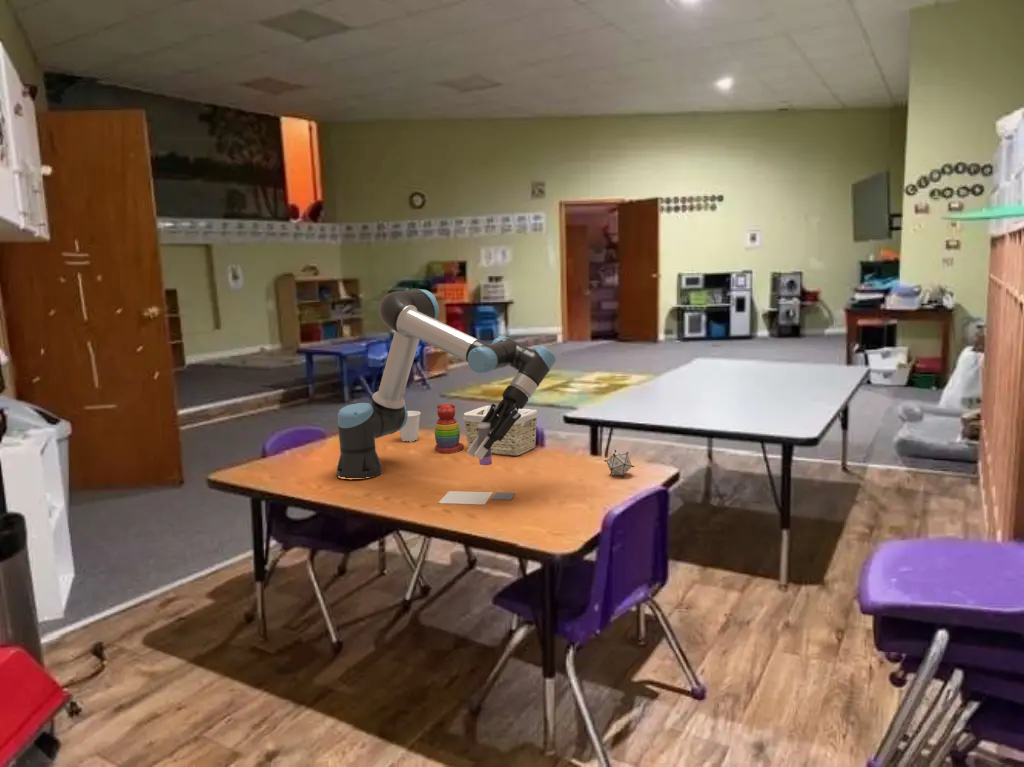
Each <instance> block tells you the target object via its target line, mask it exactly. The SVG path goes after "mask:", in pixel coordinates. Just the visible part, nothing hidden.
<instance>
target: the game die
mask: <svg viewBox="0 0 1024 767" xmlns="http://www.w3.org/2000/svg"><path fill="white" fill-rule="evenodd" d="M603 461H604V462H606V463H607V464H606V465H607V466H608V468H609V471H610V474H609V476H612V475H618V476H621V477H622V478H623V477H625V476H624V475H625V474H626V473H627V472H628V471H629V470H630V469H631V468H635V465H632V462H631V460H630V458H629V451H627V452H626V453H624V452H620V451H617V450H616V449H614V452H613V453H612V455H611V456H610V457H609V458H607V459H604V460H603ZM611 474H612V475H611Z"/></svg>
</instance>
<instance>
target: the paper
mask: <svg viewBox="0 0 1024 767" xmlns="http://www.w3.org/2000/svg"><path fill="white" fill-rule="evenodd" d="M493 493H494V492H493V491H457V490H454V491H453V490H451V491H450V490H449V491H448V490H447V492H446V494H445V495H444V496H443V497H442V498H441V499H440V500H439V501H438V504H443V505H473V506H474V505H475V506H476V505H477V506H486V504H487V502H488V501H489V499H490V498H492V496H493V495H494V494H493Z"/></svg>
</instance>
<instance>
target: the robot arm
mask: <svg viewBox="0 0 1024 767" xmlns="http://www.w3.org/2000/svg"><path fill="white" fill-rule="evenodd" d="M378 311H379V312H378V314H379V317H380V319H381V321H382V323H383V324H384V325H385V326H386V327H388V329H391V330H393V331H394V334H393V337H392V341H391V344H390V347H389V352H388V354H387V358H386V363H385V367H384V369H383V373H382V376H381V379H380V380H381V381H380V385H379V387H378V391H376V392H374V393H373V394H372V396H371V400H370V403H369V402H368V403H367V402H357V403H353V404H348V405H344V407H342V408H341V409H339V410H338V413H337V422H336V423H337V427H338V428H337V430H338V438H339V451H340V452H339V454H340V455H339V459H338V463H337V466H336V476H337V475H338V476H340V477H345V478H366V477H372V476H376V475H378V474H380V473H381V472H382V473H383V465H382V462H381V460H380V457H379V456H378V453H377V451H376V439H378V438H382V437H384V436H388V435H392V434H395V433H396V432H398V431H399V432H400V429H402V428H403V427H404V425H405V424H406V421H407V417H408V412H407V411H408V410H407V406H406V401H405V399H404V394H405V391H406V387H407V383H408V380H409V378H410V373H411V369H412V366H413V363H414V360H415V356H416V352H417V350H418V345H419V343H420V341H423V342H425V343H426V344H429V345H431V346H433V347H435V348H437V349H439V350H441V351H444V353H445V352H446V353H448V354H449V355H452V356H453V357H455V358H457V359H459V360H462V361H464V362H466V363H467V364H468V367H469V368H470V369H471V370H472V371H473V372H475V373H478V374H482V373H483V374H484V373H490V372H493V371H494V370H499V369H502V368H505V367H506V368H507V367H511V368H513V369H514V370H516V371H518V372H516V374H515V376H514V377H513V378H512V379H511V381H510V382H509V385H507V387H506V388H505V389H504V390H503V392H502V400H501V401H500V402H498V404H495V403H492V404H491V405H490V406H491V407H490V410H489V411H488V413H487V414H486V416H485V417H484V419H483V420H482V422H488V423H490V432H491V431H492V432H491V434H488V436H489V437H490V438H489V437H488V436H487V437H486V438H485V439H484V441H483V442H482V444H481V445H480V446H479V441H478V436H477V437H476V439H475V440H474V442H473V443H472V444H471V446H470V447H469V449H467V450H466V453H468V454H469V455H470V456H472V457H475V456H476V458H478V459H480V460H482V458H483V457H484V455H485V454H486V453H487V451H488V450H489V449H490V447H491V446H492V445H493V443H494V442H496V441H497V440H499V441H501V440H502V439H503V438H504V436H505V435H506V434H507V432H508V431H509V430H510V428H511V427H512V426H513V424H514V423H515V422H516V421H517V420H518V419H519V418H520V417H521V414H520V413H519V412H518V410H519V409H525V408H524V407H525V406H526V405H527V404H528V402H529V398H531V397H532V396H533V394H534V393H535V392H536V390H537V388H539V386H540V384H541V383H542V381H543V380H544V379H545V378H546V376H547V375H548V374H549V373H550V372H551V369H552V368H553V366H554V364H555V363H556V360H557V359H556V356H555V354H554V353H553V351H551V350H550V349H549V348H548V347H546V346H544V345H540V344H538V345H536V346H535V347H534V348H533V349H532V348H530V347H527V346H525V345H523V344H522V343H520V342H518V341H516V340H514V339H513V338H511V337H507V336H506V335H503V334H501V335H498V336H497V337H496V338H495V339H493V341H491V342H492V343H490V344H489V343H486V342H485V341H482V340H480V339H478V338H476V337H474V336H472V335H470V334H467V333H465V332H463V331H461V330H459V329H457V328H454V327H452V326H450V325H448V324H446V323H443V322H441V321H440V320H438V319H437V318H438V316H439V314H440V306H439V302H438V301H437V298H436V297H435V295H434V294H433V293H432V292H430V291H429V290H427V289H421V288H420V289H419V288H415V289H410V290H397V291H392V292H390V293H388V294H386V295H385V296H384V297H383V298H382V300H381V301H380V303H379V309H378ZM482 422H481V423H482ZM492 429H493V430H492ZM477 431H478V428H477ZM500 435H501V436H500ZM382 473H381V474H382ZM381 474H380V475H381ZM378 476H379V475H378ZM376 477H377V476H376Z"/></svg>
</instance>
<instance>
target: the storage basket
mask: <svg viewBox="0 0 1024 767" xmlns="http://www.w3.org/2000/svg"><path fill="white" fill-rule="evenodd" d="M490 407H491V405H484V406H482V407H481V406H480V407H478V408H474V409H473V410H469V411H466V412H464V413H463V418H462V419H463V421H464V424H465V435H466V441H467V448H468V449H469V447H470V446H471V444H472V443H473V442H474V440H475V439H476V437H477V436H478V431H477V428H478V425H477V424H478V423H481V422H482V420H483V419H484V417H485V416H486V414H487V413H488V411H489V410H490ZM518 412H519V413H520V414H521V417H520V418H519V419H518V420H517V421H516V422H515V423H514V424H513V426H512V427H511V428H510V430H509V431H508V432H507V434H506V435H505V436H504V438H503V439H502V440H501V441H499V440H497V441H496V442H494V443H493V445H492V446H491V454H494V455H495V454H496V455H502V456H504V455H505V456H514V457H515V456H516V457H517V456H520V455H523V454H525V453H527V452H530V451H531V450H533V449H535V447H536V444H537V443H536V441H537V439H536V438H537V423H538V422H537V421H538V420H537V419H538V417H539V413H538V410H537V409H531V408H530V409H529V408H523V409H519V410H518ZM492 430H493V429H492ZM491 432H492V431H491ZM491 432H490V434H491ZM500 436H501V435H500ZM468 449H467V450H468Z"/></svg>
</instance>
